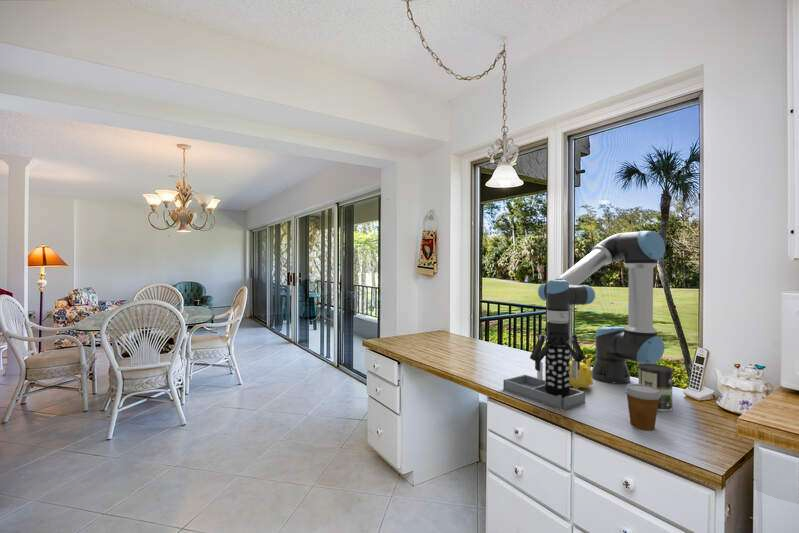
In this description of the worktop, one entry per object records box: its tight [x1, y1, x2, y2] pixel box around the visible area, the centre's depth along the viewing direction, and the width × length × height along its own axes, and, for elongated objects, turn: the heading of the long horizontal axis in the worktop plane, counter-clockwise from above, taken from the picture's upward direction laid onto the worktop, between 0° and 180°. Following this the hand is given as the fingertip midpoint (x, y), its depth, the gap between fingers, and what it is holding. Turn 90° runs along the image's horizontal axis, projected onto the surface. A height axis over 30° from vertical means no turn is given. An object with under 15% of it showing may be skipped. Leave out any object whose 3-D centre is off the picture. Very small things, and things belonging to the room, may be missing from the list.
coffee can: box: [637, 363, 674, 412], centre depth 135 cm, size 10×10×14 cm
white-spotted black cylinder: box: [544, 343, 571, 398], centre depth 140 cm, size 8×8×20 cm
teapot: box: [570, 357, 594, 391], centre depth 156 cm, size 20×15×12 cm
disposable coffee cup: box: [624, 383, 661, 431], centre depth 118 cm, size 10×10×12 cm
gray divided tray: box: [503, 374, 586, 411], centre depth 145 cm, size 26×14×4 cm, turn 34°
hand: (557, 378), depth 140 cm, fingers open, 13 cm apart
